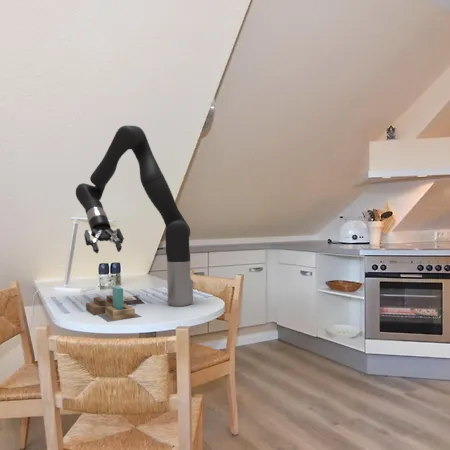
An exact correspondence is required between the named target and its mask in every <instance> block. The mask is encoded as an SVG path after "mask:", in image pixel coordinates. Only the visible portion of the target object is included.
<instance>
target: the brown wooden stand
mask: <svg viewBox="0 0 450 450" xmlns="http://www.w3.org/2000/svg"><path fill="white" fill-rule="evenodd" d="M123 304H126V303H124V302H123ZM108 306H112V307H113V294H112V295H111V294H110V295H106V299H104V298H101V297H100V296H94V297H93V299H92V302H86V303H85V310H86V311H87V312H88V313H89V314H92V315H93V316H98V315H101V314H105V307H108Z"/></svg>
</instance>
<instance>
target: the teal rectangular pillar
mask: <svg viewBox="0 0 450 450" xmlns="http://www.w3.org/2000/svg"><path fill="white" fill-rule="evenodd" d="M111 289H112V296H113V307H114V308H115V309H117V310H123V309H124V304H123V297H124V288H123V287H120V286H118V285H117V286H112V288H111Z"/></svg>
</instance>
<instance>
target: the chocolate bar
mask: <svg viewBox="0 0 450 450" xmlns="http://www.w3.org/2000/svg"><path fill="white" fill-rule="evenodd" d="M123 302H124V303H126V305H128V306H131V305H133V306H134V305H143V304H144V305H145V304H146V303H145V301H143V300H142V299H140V298H139V296H137V295H127V296H123Z"/></svg>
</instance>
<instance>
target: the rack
mask: <svg viewBox="0 0 450 450" xmlns="http://www.w3.org/2000/svg"><path fill="white" fill-rule="evenodd" d="M135 310H136V309H135V308H134V307H132V306H131V305H126V304H124V309H123V310H117V309H115V308H114V307H112V306H108V307H105V315H106V316H108V317H109V318H111V319H113V320H118V321H121V320H120V319H124V320H127V319H126V318H131V319H134V318H133V317H135V313H136V312H135Z"/></svg>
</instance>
